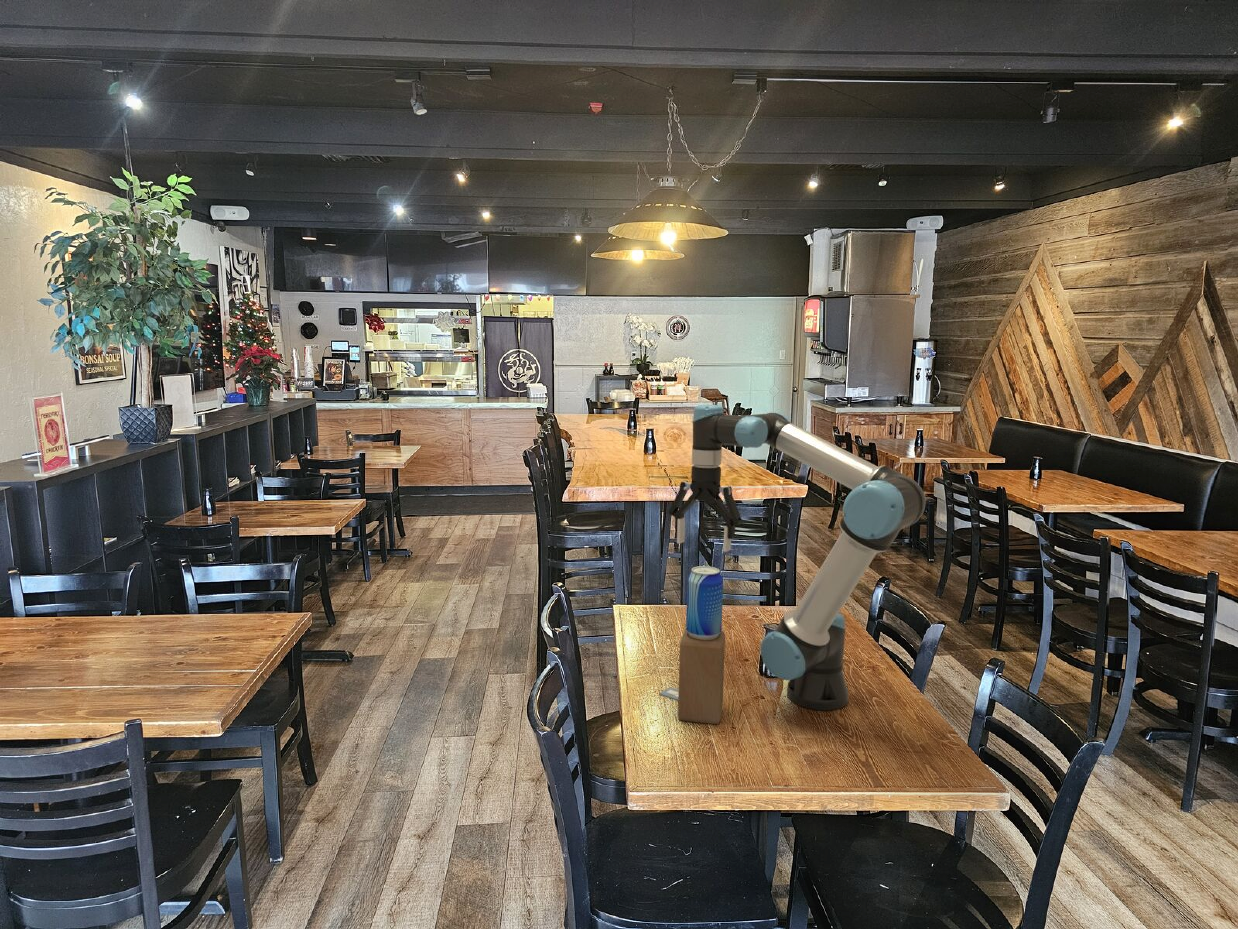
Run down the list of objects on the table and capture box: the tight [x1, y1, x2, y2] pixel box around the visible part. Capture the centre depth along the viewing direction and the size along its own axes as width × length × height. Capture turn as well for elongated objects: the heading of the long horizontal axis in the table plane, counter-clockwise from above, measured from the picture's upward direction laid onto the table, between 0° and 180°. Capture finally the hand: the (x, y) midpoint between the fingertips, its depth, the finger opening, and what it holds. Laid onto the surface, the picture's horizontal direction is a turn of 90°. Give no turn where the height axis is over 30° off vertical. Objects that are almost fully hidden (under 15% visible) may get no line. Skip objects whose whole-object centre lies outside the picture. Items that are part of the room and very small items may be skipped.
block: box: [677, 628, 726, 725], centre depth 186 cm, size 10×10×20 cm
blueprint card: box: [658, 686, 679, 702], centre depth 197 cm, size 8×5×1 cm, turn 52°
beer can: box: [685, 565, 724, 640], centre depth 184 cm, size 8×8×16 cm
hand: (703, 546), depth 201 cm, fingers open, 13 cm apart
